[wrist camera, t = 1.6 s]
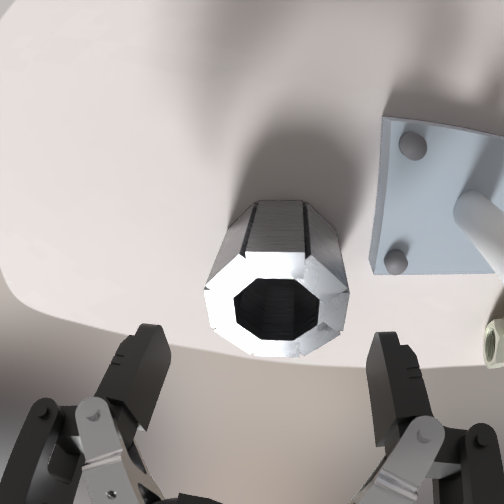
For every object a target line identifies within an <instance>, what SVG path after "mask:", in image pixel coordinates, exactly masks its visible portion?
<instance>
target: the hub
mask: <svg viewBox="0 0 504 504" xmlns="http://www.w3.org/2000/svg"><path fill="white" fill-rule="evenodd" d="M204 294H205V299H206V304H207V309H208V314H209V318H210V323H211V327H215V330H214V331H215V332H217V333H218V334H220V335H221V336H223V337H224V338H226V339H227V340H229V341H230V342H232V343H233V344H235V345H236V346H238V347H239V348H241V349H242V350H244V351H245V352H247V353H249V354H251V353H252V352H254V355H255V356H274V357H299V355H300V353H301V354H302V355H304V356H305V355H307V354H309V353H310V352H312V351H314V350H316V349H317V348H319V347H321V346H322V345H324V344H326V343H327V342H329V341H331V340H332V339H334V338H335V337H337V336H339V335H340V331H343V328H344V323H345V318H346V312H347V306H348V300H349V294H350V292H349V287H348V282H347V277H346V272H345V268H344V263H343V259H342V254H341V250H340V245H339V241H338V237H337V234H336V231H335V229H334V228H333V227H332V226H331V225H330V224H329V223H328V222H327V221H326V220H325V219H324V218H323V217H322V216H321V215H320V214H319V213H318V212H316V211H315V210H314V209H313V208H312V207H311V206H310V205H309V204H308V203H306V204H305V205H304V206H303V205H302V201H299V200H263V201H259V203H258V205H257V204H256V203H255V202H254V203H253V204H252V205H251V206H250V207H249V208H248V209H247V210H246V211H245V212H244V213H243V214H242V215H241V216H240V217H239V218H238V219H237V220H236V221H235V222H234V223H233V224H232V225H231V226H230V227H229V228H228V230H227V232H226V235H225V237H224V240H223V242H222V245H221V247H220V250H219V252H218V255H217V257H216V260H215V262H214V265H213V267H212V270H211V272H210V275H209V277H208V280H207V282H206V285H205V288H204Z"/></svg>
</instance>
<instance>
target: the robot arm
mask: <svg viewBox="0 0 504 504" xmlns="http://www.w3.org/2000/svg"><path fill="white" fill-rule="evenodd" d="M170 362H171V351H170V348H169V345H168V342H167V339H166V337H165V334H164V331H163V328H162V326H161V325H154V324H144V323H143V324H141V325H140V326H139V328H138V330H137V332H136V334H135V336H134V335H129V336H128V337H127V338H126V339H125V340H124V341H123V342H122V343H121V344H120V346H119V348H118V349H117V351H116V353H115V356H114V357H113V359H112V361H111V364H110V365H109V367H108V369H107V371H106V373H105V375H104V377H103V379H102V381H101V384H100V385H99V387H98V390H97V392H96V393H95V395H94V396H93V397H90V398H87V399H85V400H83V401H82V402H81V403H80V404H79V405H78V406H58V405H57V404H56V403H55V401H54V400H52V399H50V398H42V399H39V400H38V401H36V402H35V403H34V404H33V406H32V407H31V409H30V411H29V414H28V416H27V418H26V420H25V422H24V425H23V427H22V429H21V431H20V434H19V436H18V438H17V441H16V443H15V445H14V448H13V450H12V453H11V455H10V458H9V460H8V463H7V466H6V468H5V471H4V474H3V477H2V479H1V482H0V504H73V501H74V497H75V494H76V491H77V487H78V484H79V480H80V477H81V474H82V473H83V477H84V480H85V483H86V486H87V490H88V493H89V496H90V499H91V502H92V504H222V503H219V502H217V501H214V500H212V499H209V498H203V497H198V496H192V495H187V494H182V493H179V496H178V498H170V499H165V498H164V496H163V494H162V492H161V490H160V488H159V487H158V485H157V484H156V483H155V481H154V480H153V478H152V476H151V475H150V473H149V470H148V468H147V466H146V463H145V461H144V459H143V457H142V454H141V452H140V449H139V447H138V444H137V442H136V439H135V438H134V436H135V433H136V431H137V430H139V431H144V432H146V431H147V429H148V426H149V422H150V420H151V417H152V414H153V411H154V408H155V405H156V402H157V400H158V397H159V394H160V391H161V388H162V386H163V382H164V380H165V377H166V374H167V371H168V369H169V366H170ZM419 367H420V366H419V363H418V360H417V356H416V354H415V353H414V352H413V350H412V349H411V348H410V347H409V346H408V345H400V343H399V339H398V336H397V333H396V332H376V333H375V335H374V338H373V341H372V344H371V347H370V351H369V354H368V357H367V362H366V373H367V380H368V387H369V394H370V401H371V408H372V416H373V424H374V434H375V443H376V447H381V446H385V453H386V454H385V456H384V457H383V458H382V460H381V461H380V463H379V464H378V466H377V467H376V469H375V470H374V471H373V473H372V474H371V476H370V477H369V478H368V480H367V481H366V482H365V484H364V485H363V486H362V488H361V489H360V490H359V492H358V493H357V494H356V495H355V496H354V497H353V498H352V500H351V501H350V502H349V503H348V504H414V502H415V501H416V499H417V496H418V494H417V490H418V488H419V487H420V485H421V483H422V481H423V479H424V478H432V481H433V498H434V504H504V472H503V465H502V460H501V454H500V449H499V444H498V440H497V435H496V433H495V431H494V429H493V428H492V427H491V426H489V425H487V424H484V423H478V424H475V425H473V426H472V427H471V428H470V429H469V430H461V429H454V428H448V427H445V426H443V425H442V424H441V423H440V421H438V420H437V419H436V418H434V416H433V414H432V411H431V407H430V403H429V399H428V395H427V391H426V388H425V384H424V380H423V378H422V373H421V370H420V369H419ZM55 444H56V445H55ZM54 446H55V448H54ZM53 449H54V451H53ZM52 451H53V453H52ZM51 453H52V456H51ZM50 456H51V459H50ZM49 459H50V461H49ZM85 461H86V464H85ZM48 462H49V464H48Z"/></svg>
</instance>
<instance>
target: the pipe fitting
mask: <svg viewBox="0 0 504 504" xmlns="http://www.w3.org/2000/svg"><path fill="white" fill-rule="evenodd" d="M483 356H484V361H485V364H486V366H487V368H488V369H489V368H499V367H503V366H504V319H494V320H492V321H491V322H490V323H489V324H488V325H487V327H486V330H485V334H484V342H483Z"/></svg>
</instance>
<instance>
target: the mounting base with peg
mask: <svg viewBox="0 0 504 504" xmlns="http://www.w3.org/2000/svg"><path fill="white" fill-rule="evenodd" d="M369 262H370V265H371V268H372V271H373V274H374V275H425V274H486V273H496V274H497V275H498V277H499V278H500V280H501V281H502V282H503V284H504V137H503V136H499V135H494V134H490V133H486V132H481V131H477V130H472V129H467V128H462V127H457V126H451V125H446V124H440V123H433V122H427V121H420V120H412V119H404V118H395V117H385V116H382V133H381V152H380V167H379V179H378V190H377V200H376V209H375V217H374V225H373V233H372V240H371V247H370V254H369Z"/></svg>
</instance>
